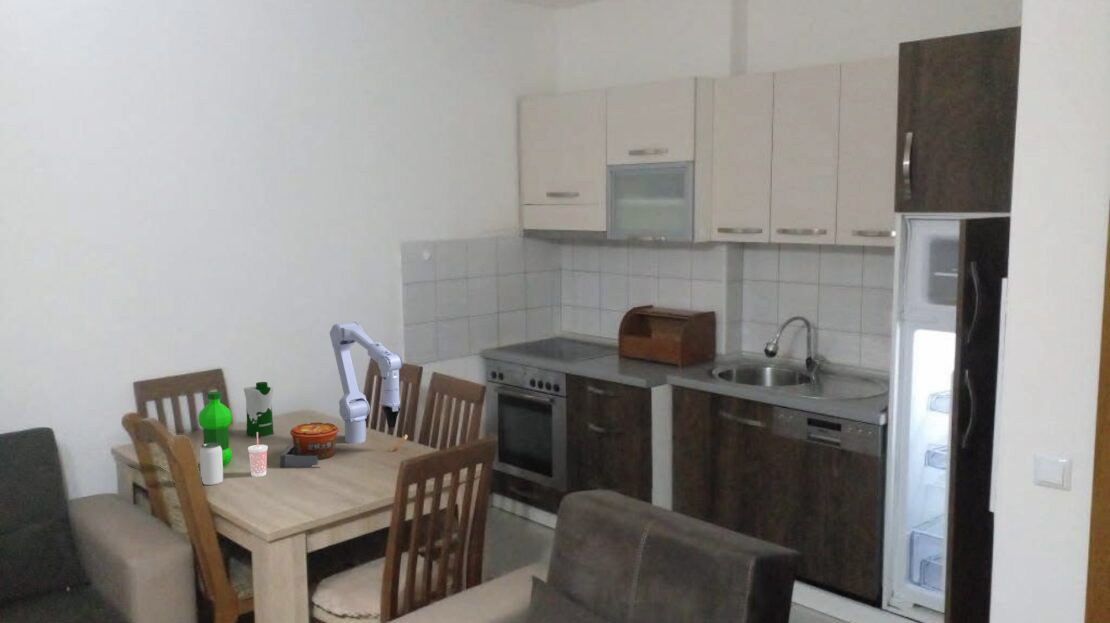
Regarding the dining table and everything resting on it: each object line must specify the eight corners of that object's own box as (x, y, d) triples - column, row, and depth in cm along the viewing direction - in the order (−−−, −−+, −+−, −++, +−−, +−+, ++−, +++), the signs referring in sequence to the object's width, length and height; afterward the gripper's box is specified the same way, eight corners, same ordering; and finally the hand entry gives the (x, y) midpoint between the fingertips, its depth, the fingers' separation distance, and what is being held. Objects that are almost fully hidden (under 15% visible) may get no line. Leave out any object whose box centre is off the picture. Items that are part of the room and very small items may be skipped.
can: (215, 486, 269) (214, 448, 268) (196, 484, 271) (195, 447, 269) (227, 479, 276) (226, 443, 274) (209, 478, 277) (207, 441, 275)
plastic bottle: (205, 462, 293) (202, 389, 290) (237, 461, 294) (234, 389, 291) (196, 471, 283) (192, 396, 280) (229, 471, 284) (226, 396, 281)
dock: (297, 448, 310) (297, 437, 310) (331, 448, 311) (331, 437, 310) (280, 467, 289) (280, 455, 288) (317, 467, 289) (316, 455, 288)
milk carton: (257, 438, 322) (255, 385, 320) (242, 434, 328) (240, 382, 325) (277, 433, 329) (275, 381, 327) (262, 429, 335) (260, 378, 332)
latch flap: (405, 439, 305) (404, 437, 304) (388, 454, 305) (387, 451, 305) (407, 436, 310) (406, 434, 309) (391, 449, 310) (389, 447, 310)
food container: (340, 463, 294) (339, 432, 293) (291, 466, 290) (290, 435, 288) (337, 450, 310) (337, 420, 308) (290, 453, 305) (290, 423, 304)
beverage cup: (248, 472, 283) (246, 430, 281) (267, 470, 285) (266, 428, 284) (249, 478, 277) (247, 435, 276) (269, 476, 280) (268, 433, 278)
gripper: (375, 385, 308) (376, 423, 310) (383, 394, 295) (384, 433, 296) (395, 384, 311) (395, 421, 312) (404, 392, 297) (404, 431, 299)
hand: (391, 427), depth 305 cm, fingers closed
